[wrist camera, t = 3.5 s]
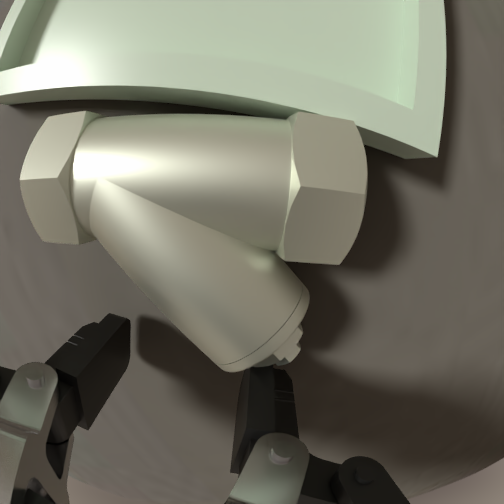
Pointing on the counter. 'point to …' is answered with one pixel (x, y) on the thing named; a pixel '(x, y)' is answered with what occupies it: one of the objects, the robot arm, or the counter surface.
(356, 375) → the counter surface
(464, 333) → the counter surface
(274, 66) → the tray
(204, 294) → the pipe fitting
